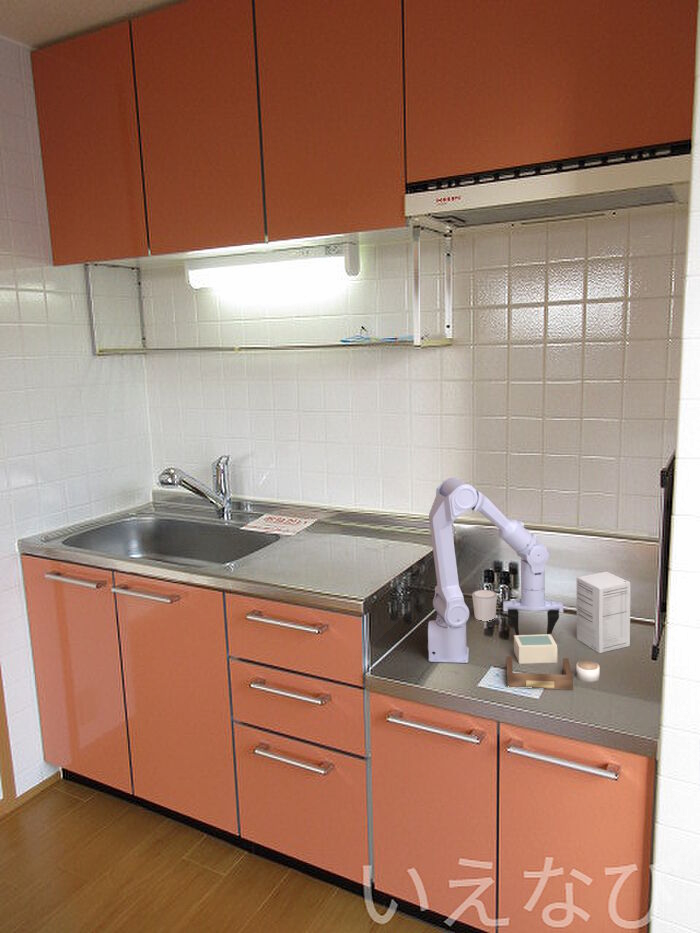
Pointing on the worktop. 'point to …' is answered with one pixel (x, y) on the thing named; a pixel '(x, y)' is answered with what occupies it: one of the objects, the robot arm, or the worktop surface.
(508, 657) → the display stand
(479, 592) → the beige tapered cup
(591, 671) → the salt pot
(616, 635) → the supplement box
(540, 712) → the worktop surface
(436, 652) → the robot arm
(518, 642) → the carton
